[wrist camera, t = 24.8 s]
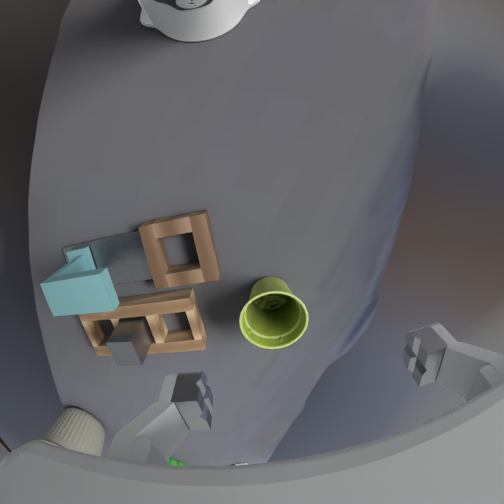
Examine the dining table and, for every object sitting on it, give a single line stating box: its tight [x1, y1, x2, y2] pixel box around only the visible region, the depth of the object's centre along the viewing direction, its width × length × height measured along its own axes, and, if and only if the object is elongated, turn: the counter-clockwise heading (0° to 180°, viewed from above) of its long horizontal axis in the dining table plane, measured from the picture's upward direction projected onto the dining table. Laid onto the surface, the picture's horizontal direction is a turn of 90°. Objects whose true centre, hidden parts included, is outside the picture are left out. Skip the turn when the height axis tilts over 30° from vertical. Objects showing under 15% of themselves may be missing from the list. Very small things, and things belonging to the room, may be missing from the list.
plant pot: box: [239, 276, 308, 349], centre depth 42 cm, size 9×9×9 cm
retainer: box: [40, 246, 120, 316], centre depth 36 cm, size 13×7×12 cm, turn 99°
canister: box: [40, 407, 105, 456], centre depth 49 cm, size 18×18×21 cm
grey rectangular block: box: [106, 316, 154, 366], centre depth 43 cm, size 5×5×10 cm
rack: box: [78, 288, 207, 355], centre depth 46 cm, size 10×22×4 cm, turn 99°
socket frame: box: [63, 210, 220, 289], centre depth 42 cm, size 27×10×3 cm, turn 99°
